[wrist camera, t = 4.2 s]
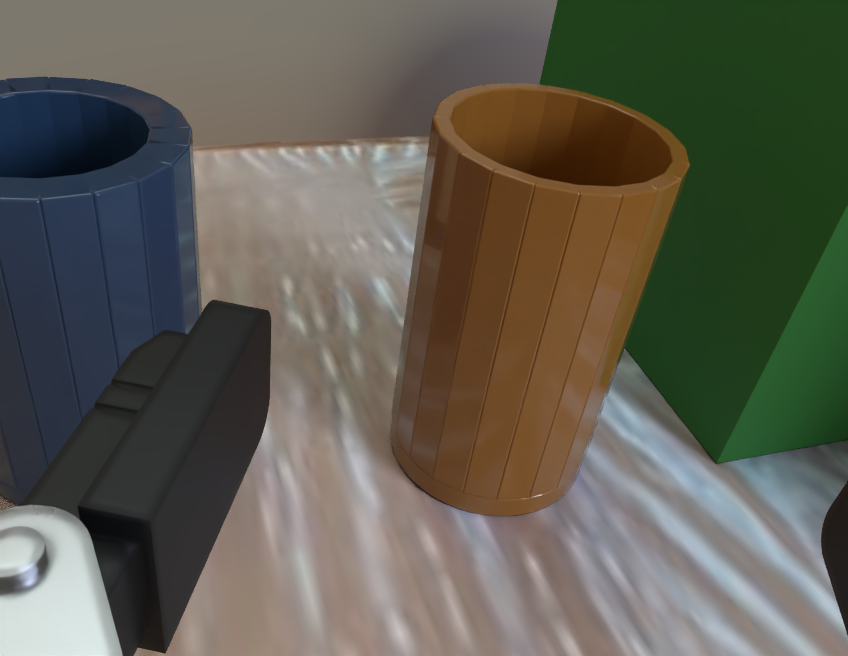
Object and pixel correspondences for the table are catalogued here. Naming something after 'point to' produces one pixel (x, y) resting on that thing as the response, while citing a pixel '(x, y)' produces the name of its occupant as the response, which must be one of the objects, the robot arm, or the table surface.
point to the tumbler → (525, 287)
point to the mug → (85, 252)
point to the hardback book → (736, 206)
